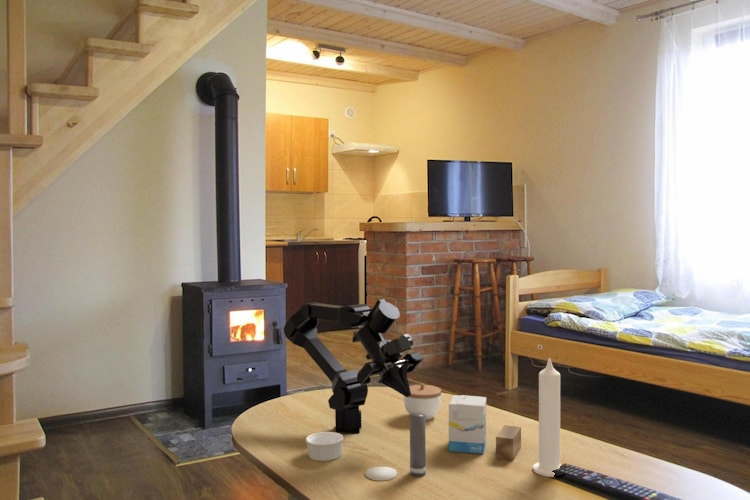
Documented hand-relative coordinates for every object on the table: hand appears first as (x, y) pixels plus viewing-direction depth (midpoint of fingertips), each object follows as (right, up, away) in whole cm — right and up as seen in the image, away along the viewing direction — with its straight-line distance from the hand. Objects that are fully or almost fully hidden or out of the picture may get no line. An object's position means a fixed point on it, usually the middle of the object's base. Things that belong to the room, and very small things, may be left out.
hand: (409, 396), depth 151 cm
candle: (+30, -14, -12) cm, 35 cm away
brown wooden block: (+24, -13, -1) cm, 27 cm away
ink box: (+15, -13, +3) cm, 20 cm away
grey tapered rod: (+1, -14, -13) cm, 19 cm away
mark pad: (-7, -14, -13) cm, 20 cm away
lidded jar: (+5, -12, +27) cm, 30 cm away
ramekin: (-20, -14, -2) cm, 25 cm away
